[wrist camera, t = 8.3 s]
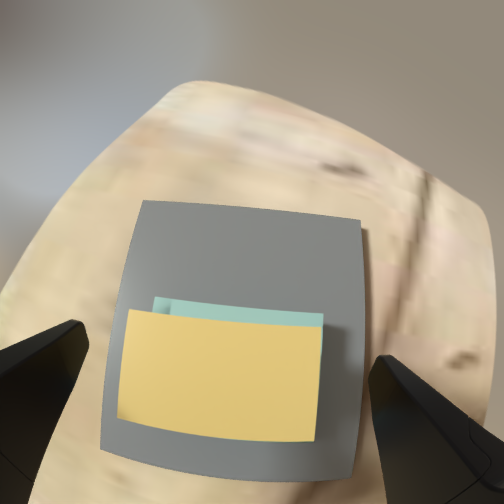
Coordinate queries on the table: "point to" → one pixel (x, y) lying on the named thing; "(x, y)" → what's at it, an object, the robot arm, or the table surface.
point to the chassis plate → (247, 311)
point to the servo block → (220, 377)
